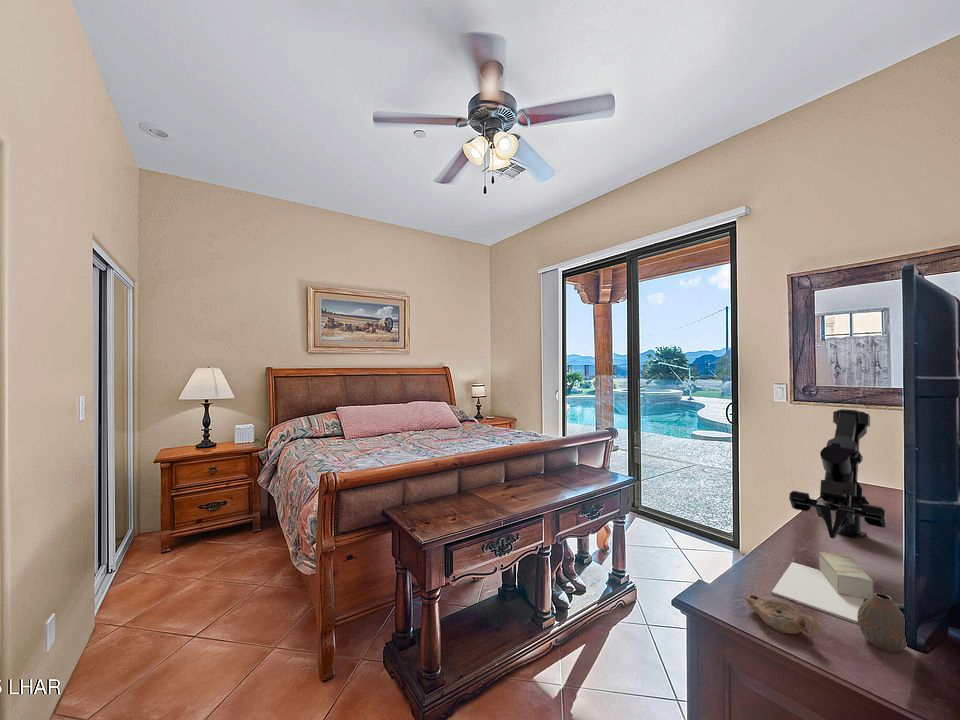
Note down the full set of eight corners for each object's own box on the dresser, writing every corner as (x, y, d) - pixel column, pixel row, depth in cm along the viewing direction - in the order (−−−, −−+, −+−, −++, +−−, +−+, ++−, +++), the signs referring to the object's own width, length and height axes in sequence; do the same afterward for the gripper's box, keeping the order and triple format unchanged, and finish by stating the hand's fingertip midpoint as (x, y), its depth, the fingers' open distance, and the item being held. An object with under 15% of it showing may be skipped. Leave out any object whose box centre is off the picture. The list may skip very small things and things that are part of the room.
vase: (922, 660, 70) (921, 609, 70) (875, 655, 71) (875, 604, 71) (890, 634, 76) (890, 587, 77) (848, 629, 78) (847, 583, 78)
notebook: (792, 564, 103) (792, 562, 103) (867, 586, 93) (867, 584, 93) (771, 593, 90) (771, 591, 90) (857, 623, 80) (857, 621, 80)
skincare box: (850, 556, 98) (875, 580, 86) (850, 575, 97) (875, 601, 86) (817, 551, 100) (837, 573, 89) (818, 569, 100) (837, 594, 89)
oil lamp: (737, 610, 84) (736, 586, 84) (765, 604, 86) (765, 581, 86) (801, 653, 72) (800, 625, 72) (833, 646, 73) (832, 618, 73)
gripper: (790, 461, 113) (781, 511, 106) (884, 475, 99) (881, 533, 92) (796, 483, 118) (788, 532, 111) (887, 499, 105) (884, 556, 97)
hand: (831, 537), depth 103 cm, fingers closed
